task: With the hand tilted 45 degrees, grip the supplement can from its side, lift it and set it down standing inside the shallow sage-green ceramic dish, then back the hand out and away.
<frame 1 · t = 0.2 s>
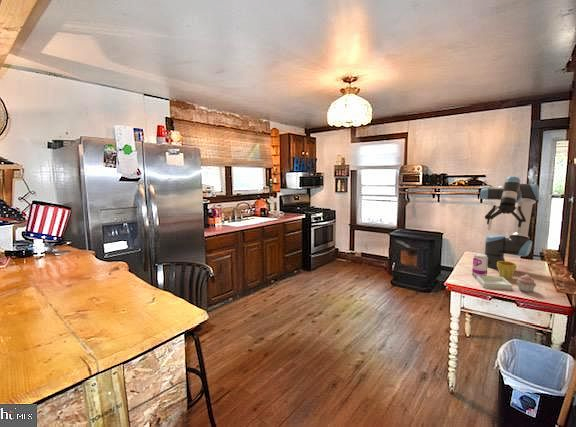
hand: (502, 230, 175), 35 cm above the table, tool tilted 35°, fingers open, 13 cm apart
plant pot: (505, 277, 196), on the table
supplement can: (479, 276, 198), on the table
dish: (493, 284, 183), on the table
cupcake: (525, 290, 173), on the table
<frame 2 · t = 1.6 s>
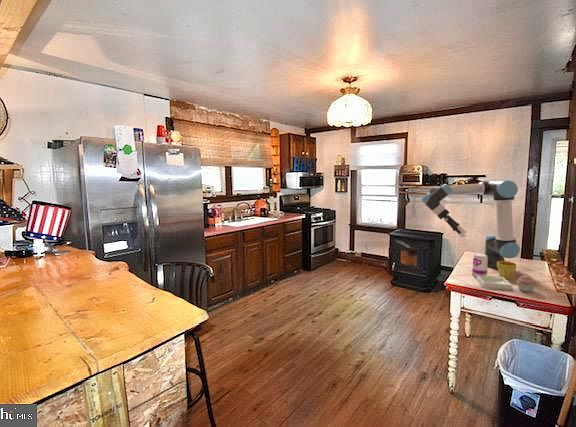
hand: (464, 235, 199), 28 cm above the table, tool tilted 45°, fingers open, 13 cm apart
nothing on the table moved.
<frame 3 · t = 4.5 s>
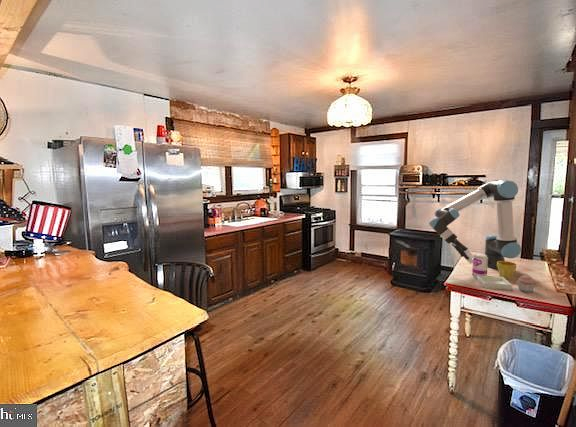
hand: (472, 260, 198), 11 cm above the table, tool tilted 45°, fingers open, 13 cm apart
nothing on the table moved.
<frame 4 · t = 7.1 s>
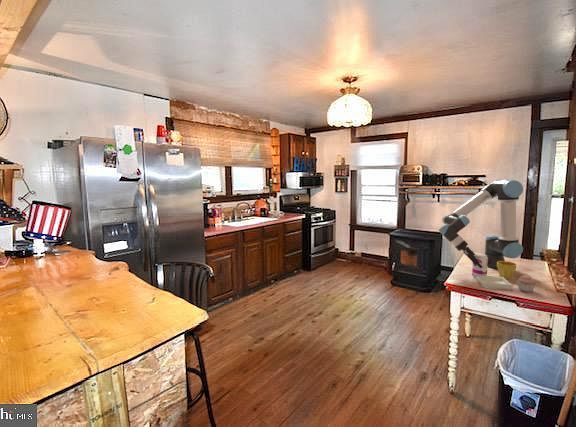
hand: (485, 269, 195), 6 cm above the table, tool tilted 45°, fingers closed on supplement can, 8 cm apart
supplement can: (479, 276, 198), on the table, touching gripper
everything else where it was.
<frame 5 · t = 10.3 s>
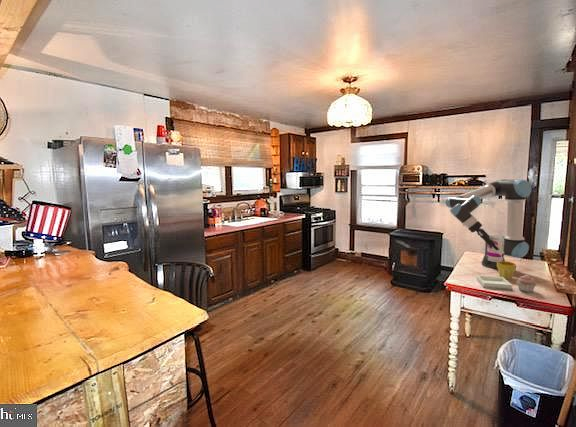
hand: (502, 252, 179), 21 cm above the table, tool tilted 45°, fingers closed on supplement can, 8 cm apart
supplement can: (494, 260, 181), point 15 cm above the table, touching gripper
everything else where it was.
when the fingers open (8 cm above the table, at t = 13.5 s): supplement can drops 2 cm, resting on dish.
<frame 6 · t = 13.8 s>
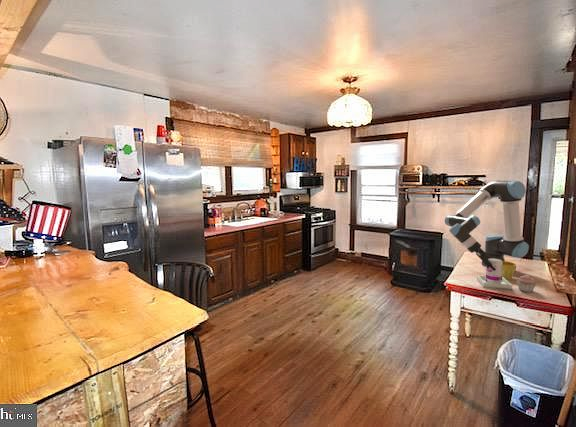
hand: (499, 271, 181), 9 cm above the table, tool tilted 45°, fingers open, 12 cm apart
supplement can: (493, 283, 183), point 1 cm above the table, touching dish
everything else where it was.
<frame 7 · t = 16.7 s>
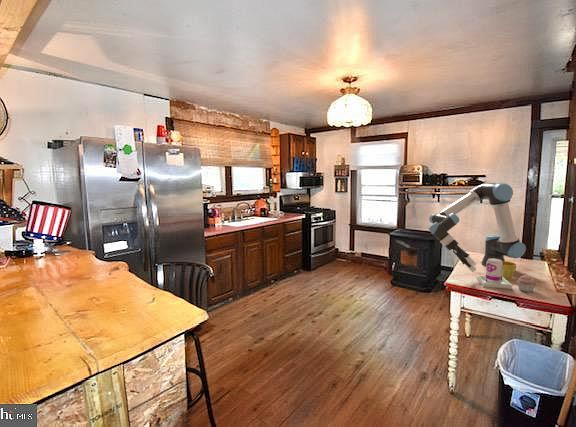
hand: (474, 267, 188), 9 cm above the table, tool tilted 45°, fingers open, 13 cm apart
nothing on the table moved.
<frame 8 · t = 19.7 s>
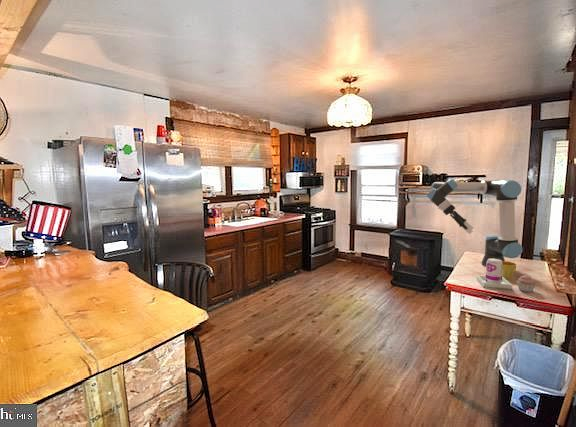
hand: (471, 231, 194), 32 cm above the table, tool tilted 45°, fingers open, 13 cm apart
nothing on the table moved.
at the end: supplement can 0.2 cm off-centre on the dish, point 0.6 cm above the dish's base; supplement can tilted 0°; the gripper is holding nothing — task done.
